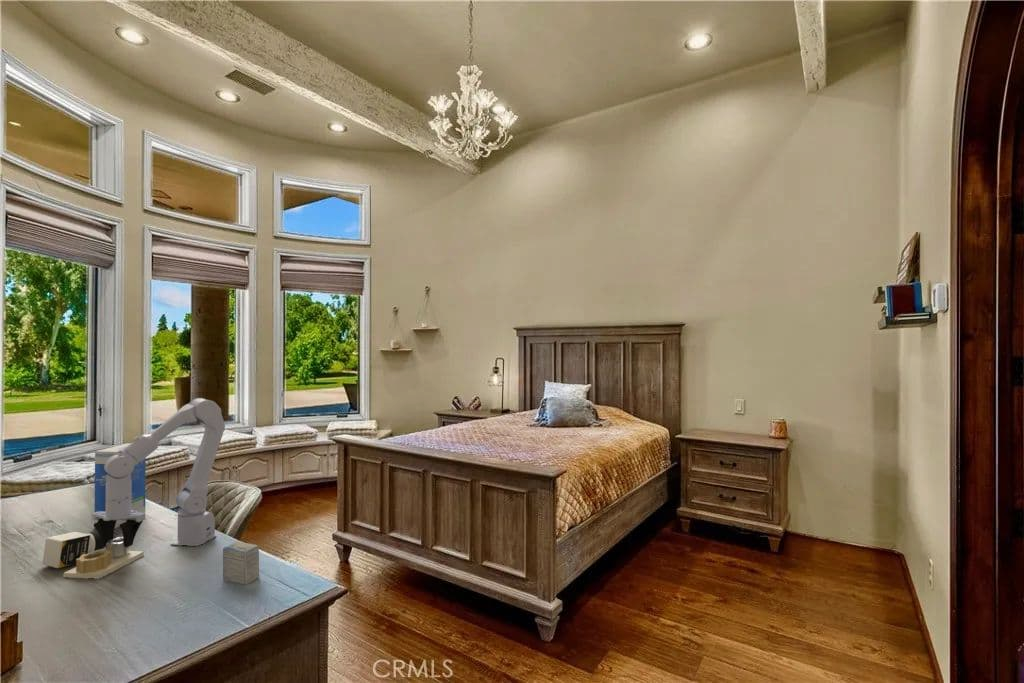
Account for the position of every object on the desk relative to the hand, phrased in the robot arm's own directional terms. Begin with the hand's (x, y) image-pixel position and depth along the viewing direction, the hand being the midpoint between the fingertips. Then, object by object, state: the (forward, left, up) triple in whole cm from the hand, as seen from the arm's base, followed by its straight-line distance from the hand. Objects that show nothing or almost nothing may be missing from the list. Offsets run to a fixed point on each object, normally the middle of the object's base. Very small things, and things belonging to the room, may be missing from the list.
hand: (118, 545), depth 137 cm
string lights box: (+25, -27, -4) cm, 38 cm away
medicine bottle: (+13, +7, 0) cm, 15 cm away
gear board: (0, +4, -4) cm, 6 cm away
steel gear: (0, 0, -2) cm, 2 cm away
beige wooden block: (-42, +8, -4) cm, 43 cm away
